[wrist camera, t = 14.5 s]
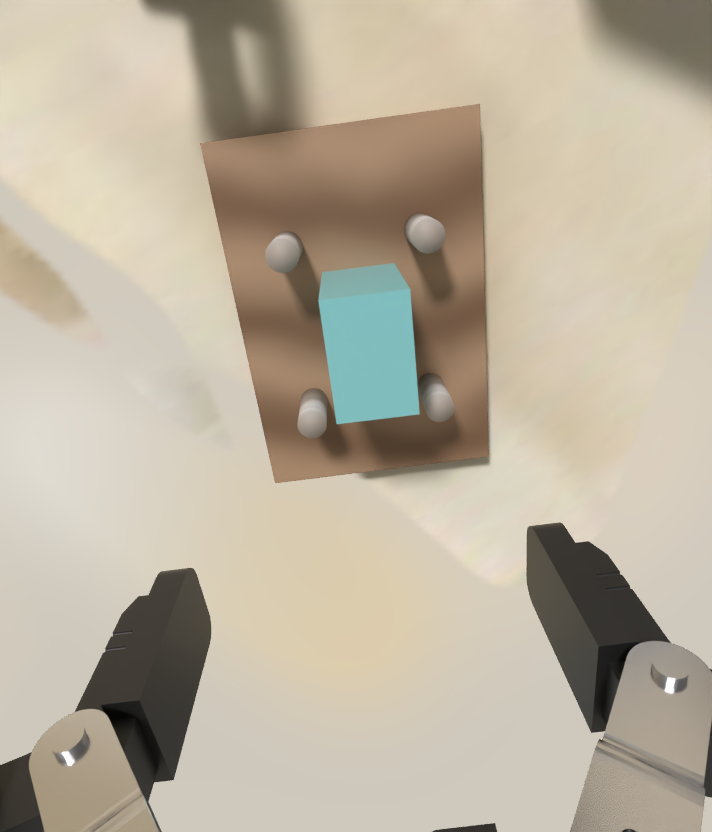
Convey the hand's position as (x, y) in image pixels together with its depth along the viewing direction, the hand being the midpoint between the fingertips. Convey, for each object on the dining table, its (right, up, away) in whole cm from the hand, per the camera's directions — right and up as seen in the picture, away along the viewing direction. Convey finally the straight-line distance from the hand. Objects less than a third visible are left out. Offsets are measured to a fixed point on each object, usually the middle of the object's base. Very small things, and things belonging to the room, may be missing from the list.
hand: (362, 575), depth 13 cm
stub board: (0, +10, +19) cm, 22 cm away
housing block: (0, +9, +18) cm, 20 cm away
